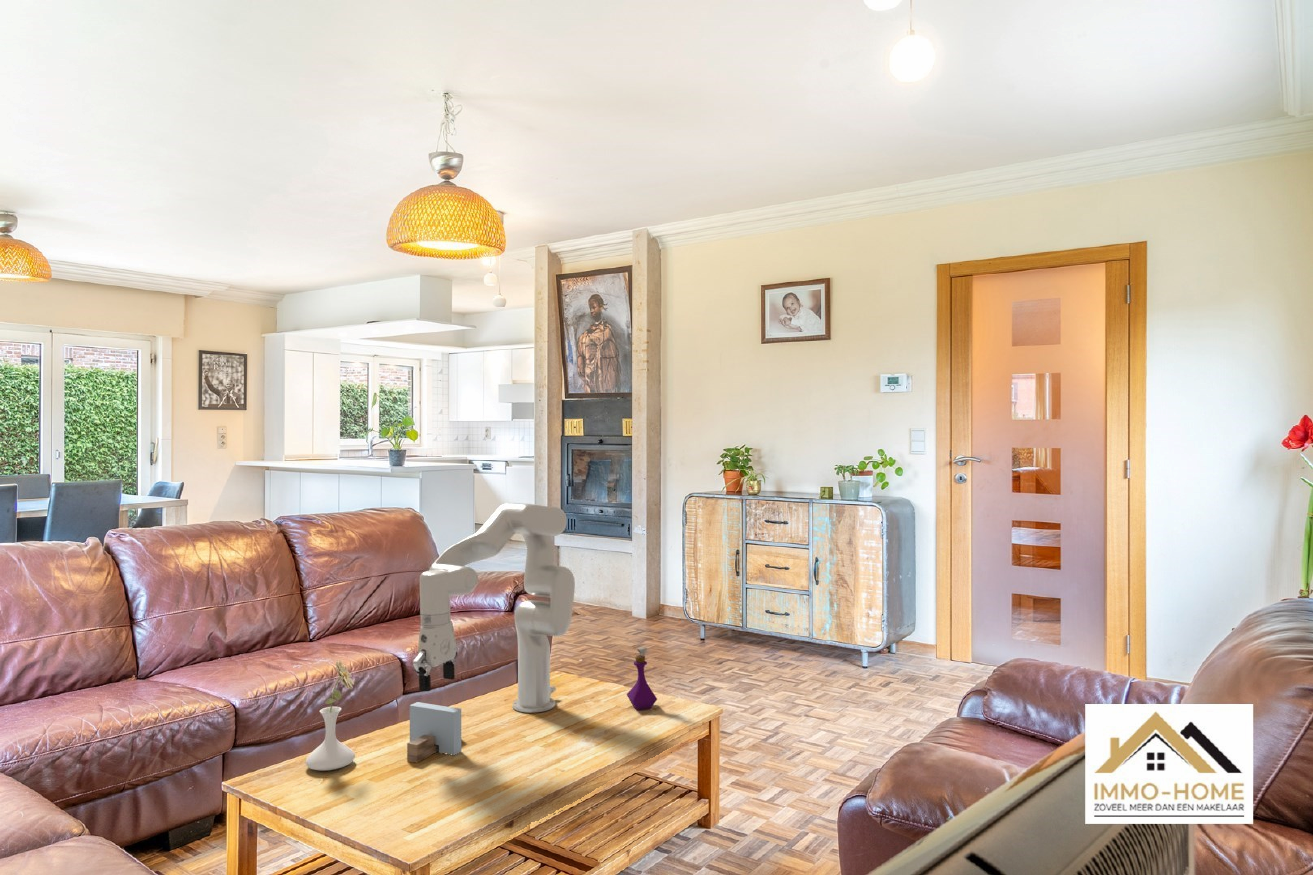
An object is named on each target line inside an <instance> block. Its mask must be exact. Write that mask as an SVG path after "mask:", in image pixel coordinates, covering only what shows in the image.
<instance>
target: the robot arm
mask: <svg viewBox="0 0 1313 875" xmlns="http://www.w3.org/2000/svg"><path fill="white" fill-rule="evenodd" d="M567 524H568V518H567V514H566V512H564V510H563V509H561V508H560V507H557V506H548V505H547V506H546V505H541V504H540V505H538V504H532V503H520V502H518V503H517V502H506V503H503V504H500V506H498V507H497V508H496V509H495V510H494V511H493V513H491V515H490V516H489V517H488V518H487V519H486V521H484V523H483V524H482V525H481V526H480V528H479V529H477V531H476V532H475V533H474V534H472V535H470V536H468V537H466V538H464V539H463V540H461V541H458V542H457V543H455V544H453V545H451V546H450V547H449V548H447V549H445V550H444V551H443V552H442V553H441V554H440V555H439V557H438V558H437V559H436V560H434V562H433V563H432V564H431V566H430V568H429V569H428V570H426V571H423V572H422V573H420V575H419V608H420V609H419V610H420V611H419V612H420V613H419V616H420V628H419V633H418V634H419V635H418V645H417V646H418V649H417V652H418V654H417V656H416V657H415V658H414V659H413V660H412V665H413V668H414V672H416V675H417V676H418V688H419V689H418V690H420V691H424V692H430V691H431V689H432V686H431V685H432V684H431V683H432V681H431V680H432V678H431V675H430V671H431V669H432V667H433V668H435V667H439V666H441V665H442V672H443V673H442V674H443V675H442V676H443V679H445V680H451V681H452V680H455V665H456V661H457V660H456V658H457V657H458V651H459V646H460V645H459V643H457V642H456V634H455V629H454V624H453V621H452V620H451V619H452V618H451V615H452V614H451V597H453V596H454V597H456V596H465V595H469V594H471V593H472V592H473V591H475V589H476V588H477V586H478V584H479V575H478V573H477V571H476V570H475V569H473V568H472V567H470V566H467V565H470V564H472V563H475V562H479V561H480V562H481V561H483V560H488V559H490V558H493V557H496V556H497V555H498V554H500V552H501V551H502V550H503V548H504V547H505V546H506V544H508V543H509V541H510V540H511V538H513V536H514V535H515V534H521V536H522V537H523V540H524V542H525V545H526V558H525V566H524V567H525V568H524V575H523V576H524V577H523V588H524V591H525V592H526V593H527V594H529V595H531V596H535V597H542V598H550V601H543V600H536V599H534V600H533V599H529V600H528V599H527V600H525V601H522V602H520V603H519V604H518V606H517V607H516V608H515V611H514V624H515V625H514V626H515V629H516V630H515V631H516V636H517V699H516V700H514V701H513V702H512V709H513V710H515V711H517V712H520V713H530V714H531V713H542V712H547V711H550V710H552V709H553V708H555V707H556V700H555V699H553V698H552V697H551V695H552V694H553V693H554V692H556V691H557V688H556V686H555V685H551V644H550V642H549V639H548V636H550V637H551V636H552V637H562V636H564V635H566V634H567V632H568V631H569V630H570V626H571V622H572V616H573V608H574V600H575V599H574V597H575V590H576V589H575V588H576V587H575V586H576V585H575V577H574V573H573V572H572V570H571V569H569V568H568V567H566V566H562V565H555V557H556V556H555V555H556V546H555V542H554V541H553V537H555V536H559V535H562V533H563V532H564V531H565V529H566V527H567ZM425 667H426V668H425Z"/></svg>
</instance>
